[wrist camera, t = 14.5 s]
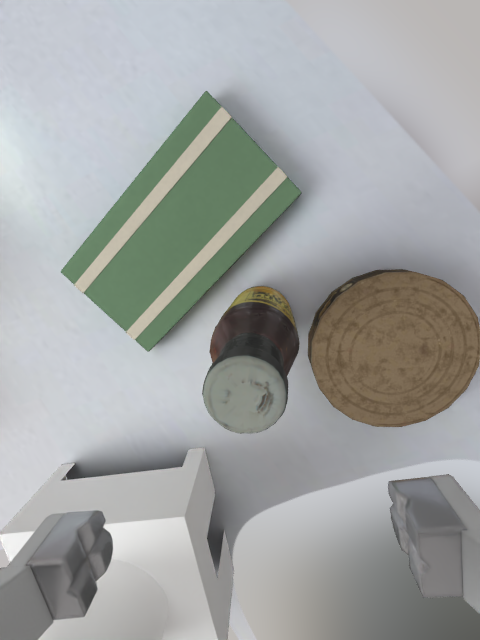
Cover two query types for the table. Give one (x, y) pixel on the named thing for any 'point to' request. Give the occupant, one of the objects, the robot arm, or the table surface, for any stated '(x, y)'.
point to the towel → (180, 224)
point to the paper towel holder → (142, 553)
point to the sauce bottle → (251, 361)
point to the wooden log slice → (394, 347)
